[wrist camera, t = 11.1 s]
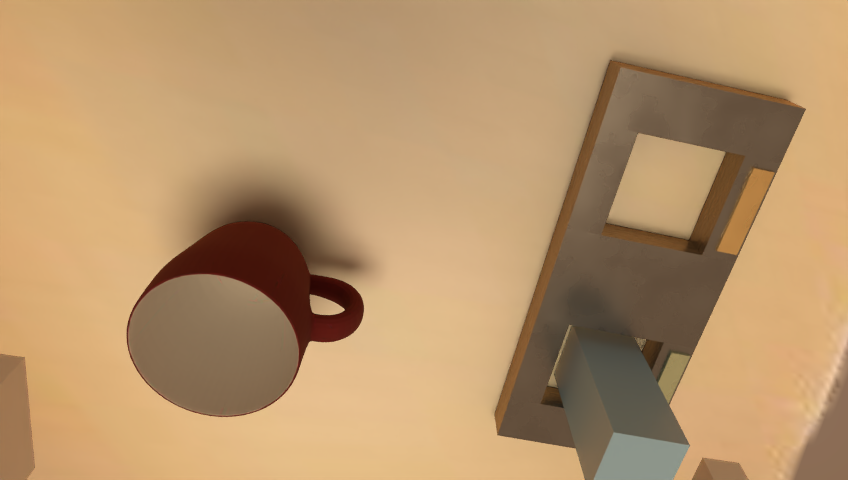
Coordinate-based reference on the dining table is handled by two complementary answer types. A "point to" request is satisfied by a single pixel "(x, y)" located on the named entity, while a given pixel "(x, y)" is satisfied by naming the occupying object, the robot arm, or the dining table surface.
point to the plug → (617, 409)
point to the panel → (643, 237)
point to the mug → (234, 321)
